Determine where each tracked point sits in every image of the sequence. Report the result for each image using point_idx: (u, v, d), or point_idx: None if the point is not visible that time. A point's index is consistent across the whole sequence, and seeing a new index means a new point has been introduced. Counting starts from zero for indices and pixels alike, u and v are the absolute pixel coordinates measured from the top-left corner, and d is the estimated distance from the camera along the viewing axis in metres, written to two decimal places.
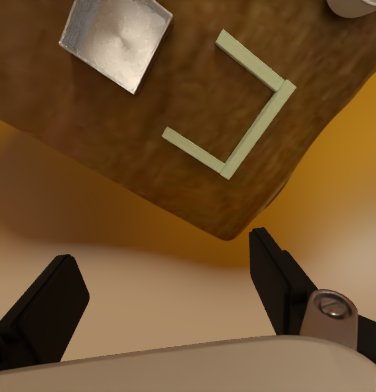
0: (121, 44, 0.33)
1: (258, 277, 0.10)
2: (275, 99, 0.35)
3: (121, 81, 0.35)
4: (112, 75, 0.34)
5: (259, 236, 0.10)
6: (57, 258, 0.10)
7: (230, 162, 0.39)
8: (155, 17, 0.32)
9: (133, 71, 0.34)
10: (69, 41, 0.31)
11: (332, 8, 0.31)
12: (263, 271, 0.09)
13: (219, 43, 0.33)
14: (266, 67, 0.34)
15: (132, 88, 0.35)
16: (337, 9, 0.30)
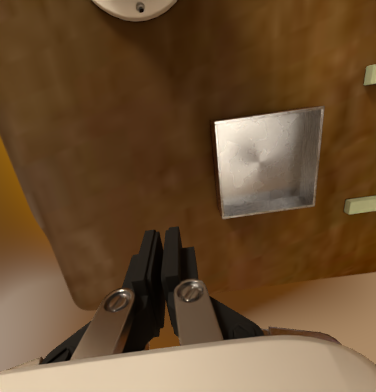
0: (262, 167, 0.28)
1: None
2: None
3: (278, 196, 0.30)
4: (267, 198, 0.30)
5: (169, 234, 0.11)
6: (148, 232, 0.11)
7: None
8: (285, 117, 0.26)
9: (286, 179, 0.29)
10: None
11: None
12: None
13: None
14: None
15: (292, 194, 0.30)
16: None
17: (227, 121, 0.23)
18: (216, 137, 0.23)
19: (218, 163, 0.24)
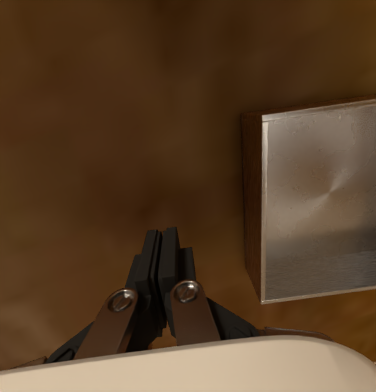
0: (334, 201, 0.15)
1: None
2: None
3: (355, 250, 0.17)
4: (334, 253, 0.17)
5: (166, 235, 0.11)
6: (150, 232, 0.11)
7: None
8: None
9: (374, 222, 0.16)
10: None
11: None
12: None
13: None
14: None
15: None
16: None
17: (293, 114, 0.09)
18: (263, 152, 0.10)
19: (262, 206, 0.11)
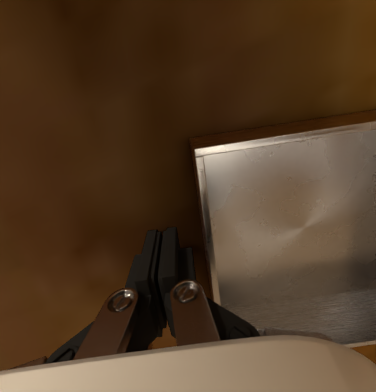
0: (311, 236, 0.13)
1: None
2: None
3: (339, 290, 0.14)
4: (316, 293, 0.14)
5: (166, 235, 0.11)
6: (150, 232, 0.11)
7: None
8: None
9: (360, 259, 0.13)
10: None
11: None
12: None
13: None
14: None
15: (369, 285, 0.14)
16: None
17: (235, 147, 0.07)
18: (202, 193, 0.08)
19: (210, 257, 0.09)
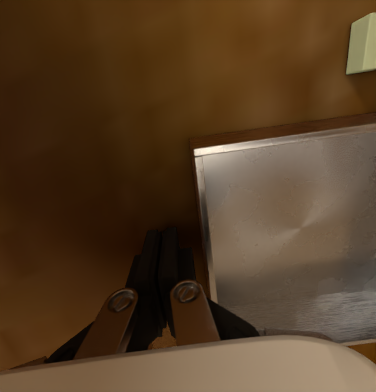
0: (307, 237, 0.13)
1: None
2: None
3: (335, 290, 0.14)
4: (311, 293, 0.14)
5: (166, 235, 0.11)
6: (150, 232, 0.11)
7: None
8: None
9: (356, 260, 0.14)
10: None
11: None
12: None
13: None
14: None
15: (364, 285, 0.14)
16: None
17: (233, 147, 0.07)
18: (200, 192, 0.08)
19: (207, 255, 0.09)
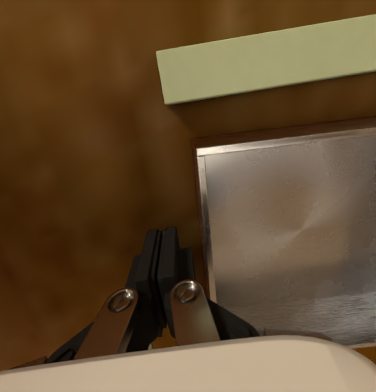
0: (307, 239, 0.13)
1: None
2: None
3: (334, 293, 0.14)
4: (310, 296, 0.14)
5: (166, 235, 0.11)
6: (150, 232, 0.11)
7: None
8: None
9: (355, 263, 0.14)
10: None
11: None
12: None
13: (179, 98, 0.09)
14: None
15: (363, 289, 0.14)
16: None
17: (236, 148, 0.07)
18: (202, 192, 0.08)
19: (208, 255, 0.09)
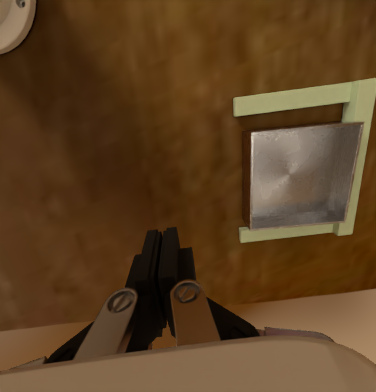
0: (292, 179, 0.27)
1: None
2: (357, 113, 0.23)
3: (306, 210, 0.29)
4: (294, 211, 0.29)
5: (166, 234, 0.11)
6: (150, 232, 0.11)
7: None
8: (319, 130, 0.25)
9: (315, 193, 0.28)
10: None
11: None
12: None
13: (241, 114, 0.24)
14: (316, 89, 0.23)
15: (320, 208, 0.29)
16: None
17: (264, 132, 0.22)
18: (251, 148, 0.23)
19: (251, 174, 0.24)
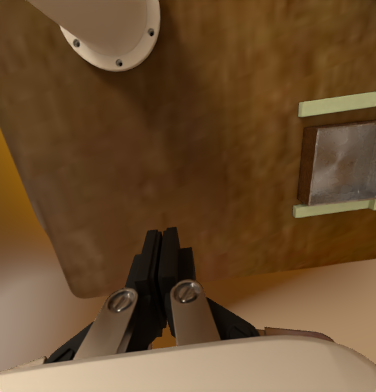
0: (339, 166, 0.35)
1: None
2: None
3: (347, 190, 0.36)
4: (338, 191, 0.36)
5: (166, 234, 0.11)
6: (150, 232, 0.11)
7: None
8: (363, 126, 0.32)
9: (356, 177, 0.35)
10: None
11: None
12: None
13: (306, 115, 0.31)
14: (365, 95, 0.30)
15: (359, 189, 0.36)
16: None
17: (327, 129, 0.29)
18: (316, 141, 0.30)
19: (314, 161, 0.31)
